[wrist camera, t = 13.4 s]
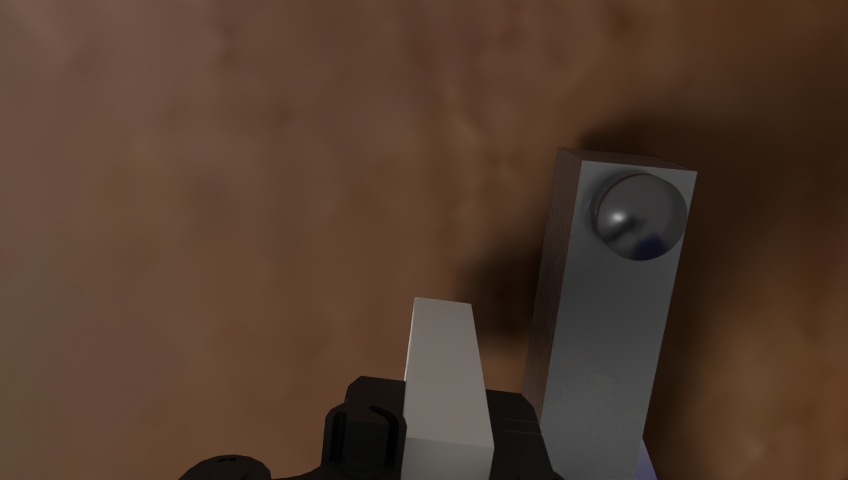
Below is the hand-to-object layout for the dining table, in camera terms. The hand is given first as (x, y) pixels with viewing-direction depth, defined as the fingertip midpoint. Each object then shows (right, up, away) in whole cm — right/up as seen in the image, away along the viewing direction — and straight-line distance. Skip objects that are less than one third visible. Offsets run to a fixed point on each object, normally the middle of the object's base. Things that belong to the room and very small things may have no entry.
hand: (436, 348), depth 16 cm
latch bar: (+4, -2, +1) cm, 4 cm away
